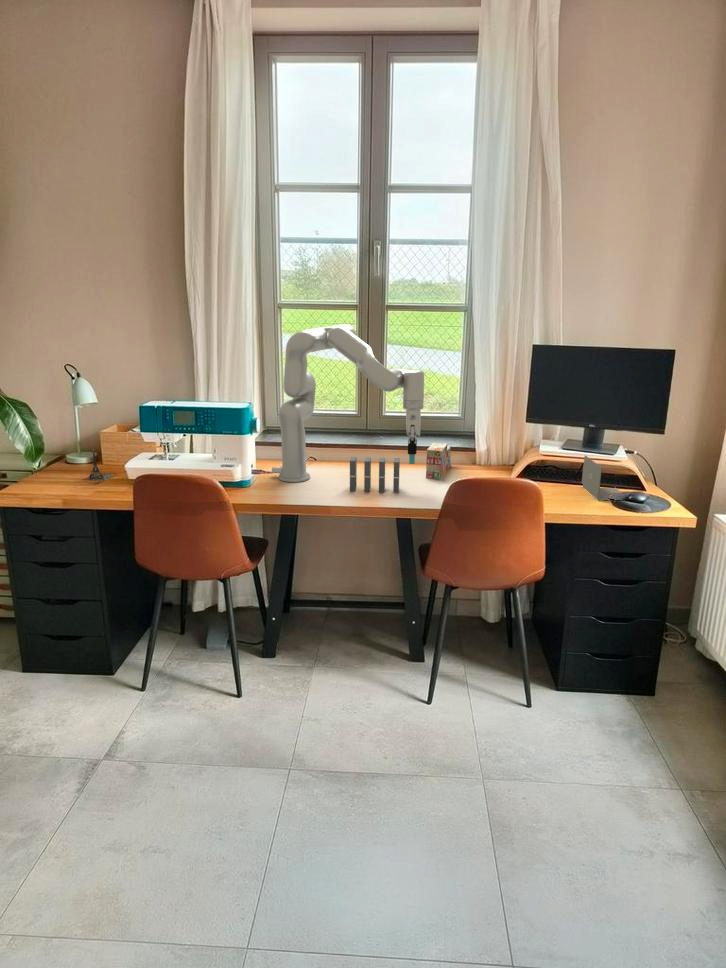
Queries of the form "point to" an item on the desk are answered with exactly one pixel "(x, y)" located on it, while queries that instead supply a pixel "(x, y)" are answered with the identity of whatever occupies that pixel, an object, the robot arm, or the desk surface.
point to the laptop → (595, 480)
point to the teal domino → (412, 457)
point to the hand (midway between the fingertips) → (412, 451)
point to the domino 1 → (353, 473)
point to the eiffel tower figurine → (98, 472)
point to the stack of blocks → (438, 460)
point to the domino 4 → (396, 475)
